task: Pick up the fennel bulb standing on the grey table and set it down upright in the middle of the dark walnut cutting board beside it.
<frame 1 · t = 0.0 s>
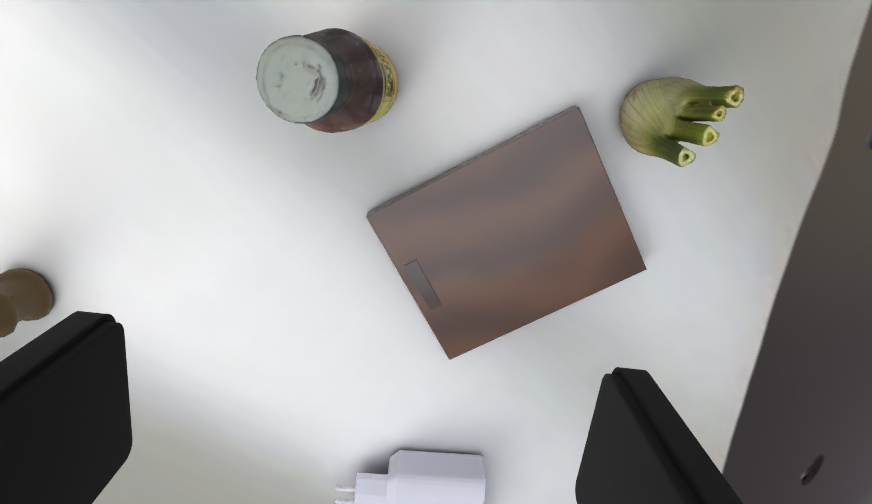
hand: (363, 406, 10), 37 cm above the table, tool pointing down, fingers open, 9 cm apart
cutting board: (506, 238, 48), on the table
sauce bottle: (360, 81, 44), on the table
kendama: (31, 291, 50), on the table
charger: (408, 480, 57), on the table
fennel bulb: (641, 109, 45), on the table
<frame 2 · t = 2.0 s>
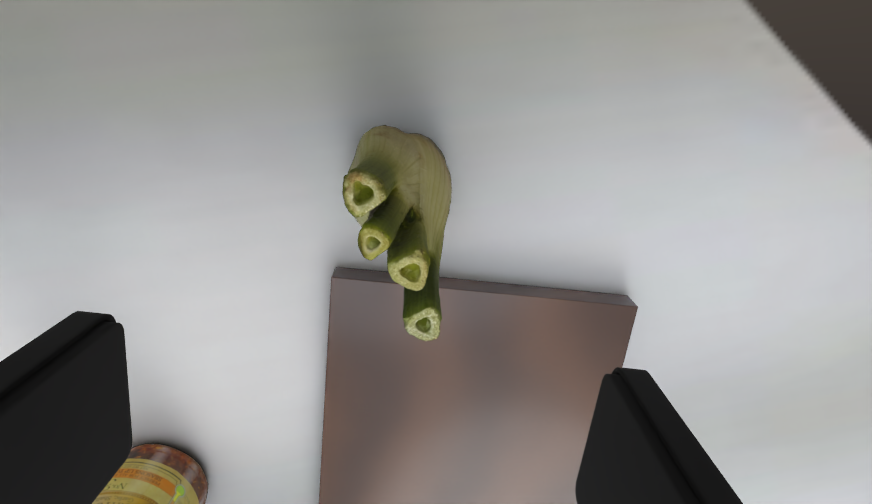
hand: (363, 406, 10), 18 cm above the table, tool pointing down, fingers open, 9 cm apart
cutting board: (460, 434, 32), on the table
sauce bottle: (160, 476, 33), on the table
fennel bulb: (400, 179, 27), on the table
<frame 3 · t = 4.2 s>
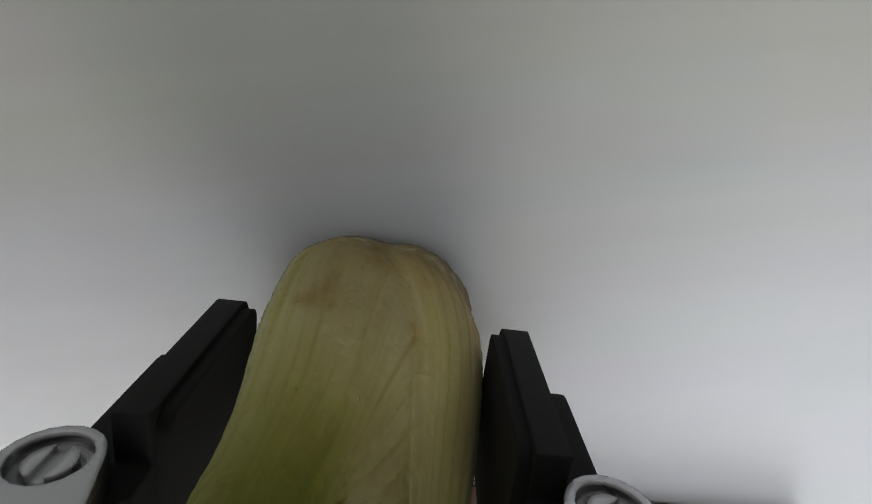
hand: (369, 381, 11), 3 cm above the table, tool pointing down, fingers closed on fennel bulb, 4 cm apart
fennel bulb: (381, 318, 14), on the table, touching gripper
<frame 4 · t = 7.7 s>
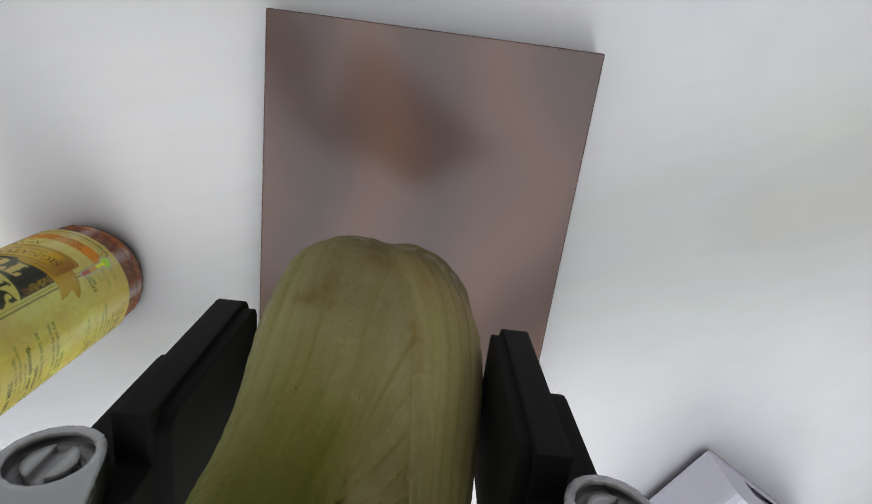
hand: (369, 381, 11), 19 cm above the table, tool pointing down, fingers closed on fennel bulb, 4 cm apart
cutting board: (415, 226, 29), on the table
sauce bottle: (92, 271, 30), on the table
fennel bulb: (381, 317, 14), point 16 cm above the table, touching gripper
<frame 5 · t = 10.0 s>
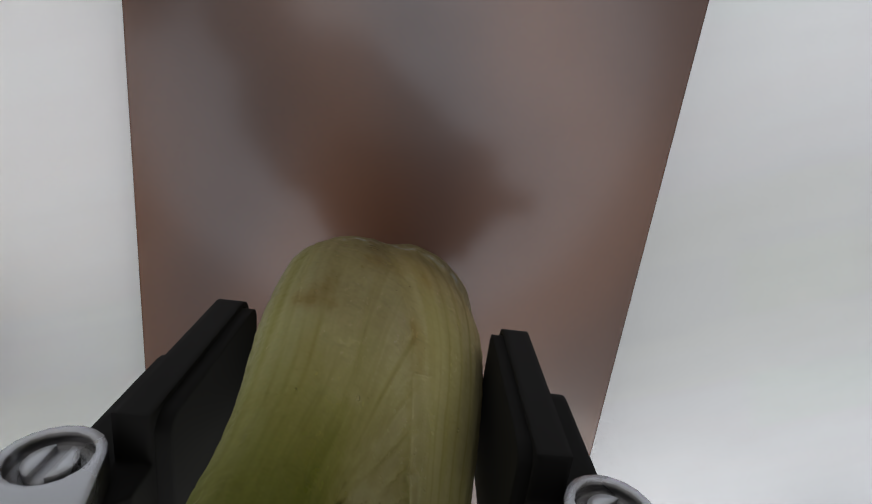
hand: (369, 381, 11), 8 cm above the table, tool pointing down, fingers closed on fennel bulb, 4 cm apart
cutting board: (392, 258, 18), on the table
fennel bulb: (381, 318, 14), point 5 cm above the table, touching gripper
when the fingers open (4 cm above the table, at t = 11.3 s): fennel bulb stays where it is, resting on cutting board.
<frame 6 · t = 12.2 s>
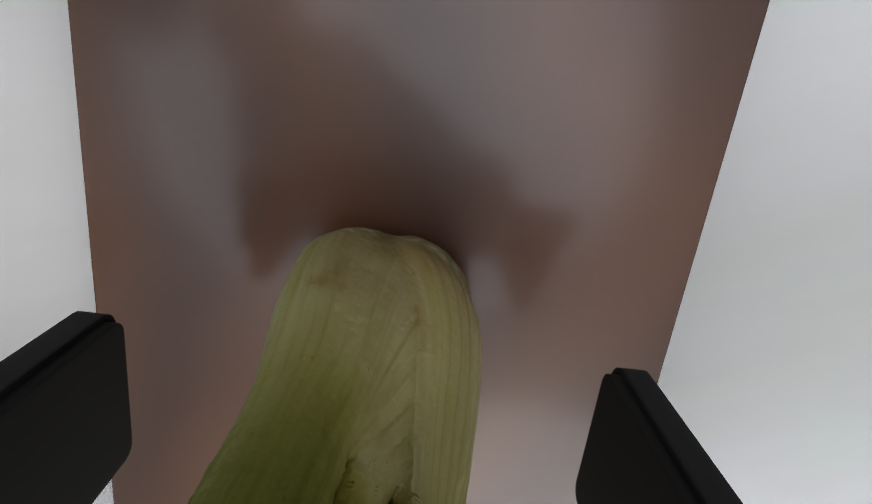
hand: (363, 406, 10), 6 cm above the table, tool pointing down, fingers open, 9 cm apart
cutting board: (392, 289, 16), on the table
fennel bulb: (385, 306, 15), point 1 cm above the table, touching cutting board
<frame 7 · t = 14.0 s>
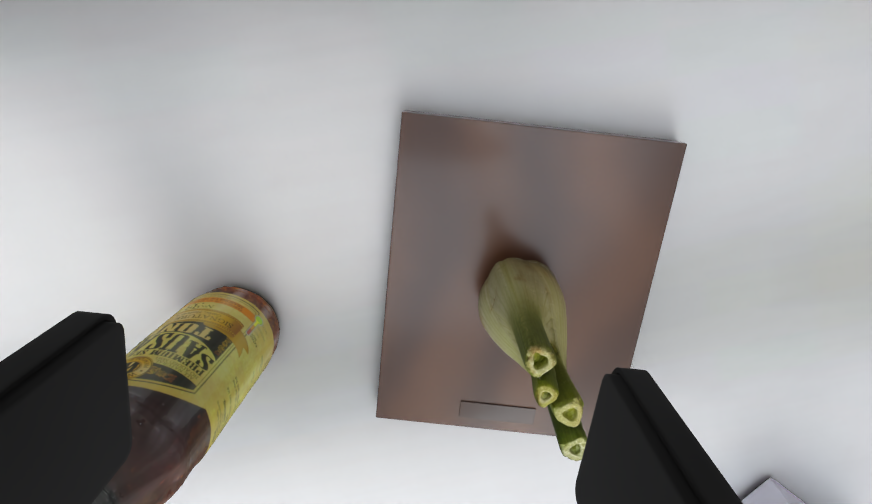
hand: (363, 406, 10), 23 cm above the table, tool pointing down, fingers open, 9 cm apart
cutting board: (514, 284, 34), on the table
sauce bottle: (235, 323, 35), on the table
fennel bulb: (515, 291, 33), point 1 cm above the table, touching cutting board
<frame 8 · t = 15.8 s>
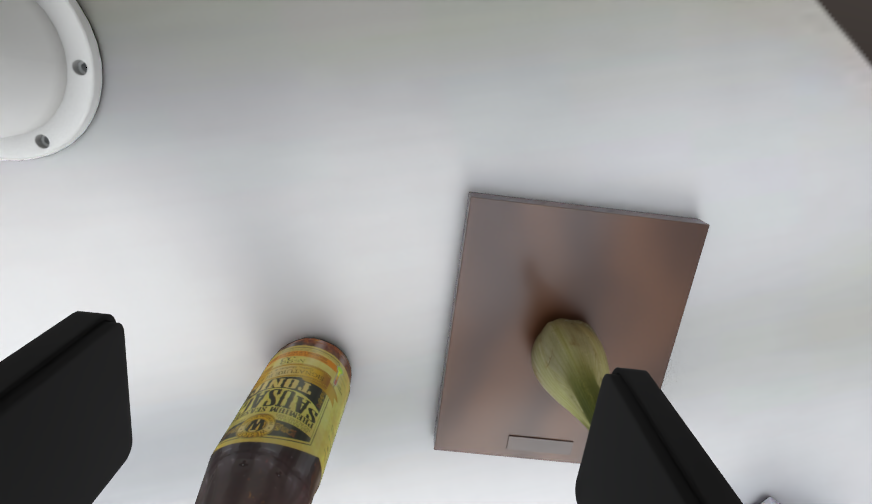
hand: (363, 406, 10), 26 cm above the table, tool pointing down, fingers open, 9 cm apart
cutting board: (556, 335, 39), on the table
sauce bottle: (311, 368, 40), on the table
fennel bulb: (560, 343, 38), point 1 cm above the table, touching cutting board
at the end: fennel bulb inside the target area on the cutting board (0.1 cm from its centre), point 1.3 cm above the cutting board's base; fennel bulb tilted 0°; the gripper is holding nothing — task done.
